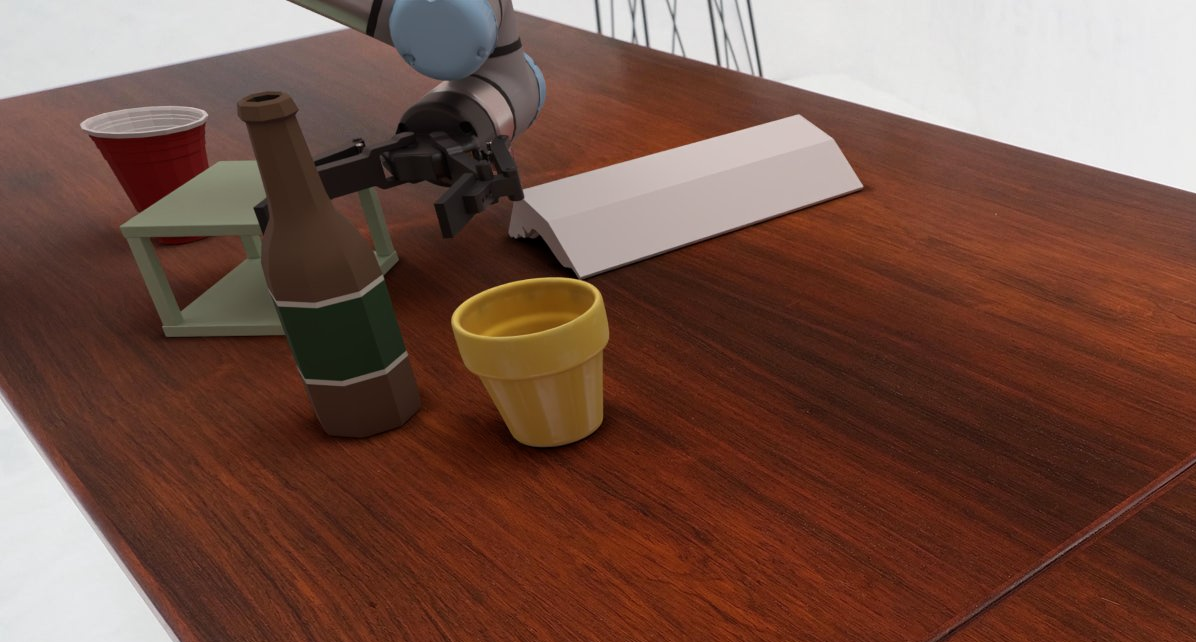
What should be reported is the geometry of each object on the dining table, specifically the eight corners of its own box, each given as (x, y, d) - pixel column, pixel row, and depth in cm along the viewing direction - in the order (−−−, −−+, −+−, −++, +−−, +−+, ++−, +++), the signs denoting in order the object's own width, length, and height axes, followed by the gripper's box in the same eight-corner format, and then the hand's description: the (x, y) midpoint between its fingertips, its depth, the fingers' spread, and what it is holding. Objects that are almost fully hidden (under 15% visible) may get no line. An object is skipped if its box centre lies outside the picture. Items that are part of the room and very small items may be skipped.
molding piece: (565, 330, 126) (580, 277, 117) (508, 232, 127) (518, 173, 119) (833, 238, 143) (863, 186, 135) (780, 153, 144) (807, 96, 136)
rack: (165, 337, 110) (118, 226, 105) (256, 262, 124) (219, 160, 118) (324, 334, 110) (285, 223, 104) (399, 260, 123) (368, 157, 117)
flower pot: (478, 410, 98) (443, 291, 92) (613, 381, 101) (588, 264, 96) (492, 475, 90) (456, 350, 85) (639, 441, 93) (614, 318, 88)
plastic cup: (265, 229, 131) (222, 111, 124) (153, 263, 124) (101, 140, 118) (223, 206, 137) (180, 92, 130) (114, 236, 131) (63, 118, 124)
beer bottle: (446, 405, 99) (351, 88, 85) (358, 450, 94) (242, 121, 80) (382, 381, 102) (281, 74, 89) (294, 424, 97) (172, 104, 84)
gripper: (603, 171, 115) (530, 267, 97) (330, 177, 116) (208, 273, 98) (586, 85, 110) (506, 170, 93) (302, 92, 111) (170, 177, 94)
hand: (353, 223), depth 95 cm, fingers open, 13 cm apart
